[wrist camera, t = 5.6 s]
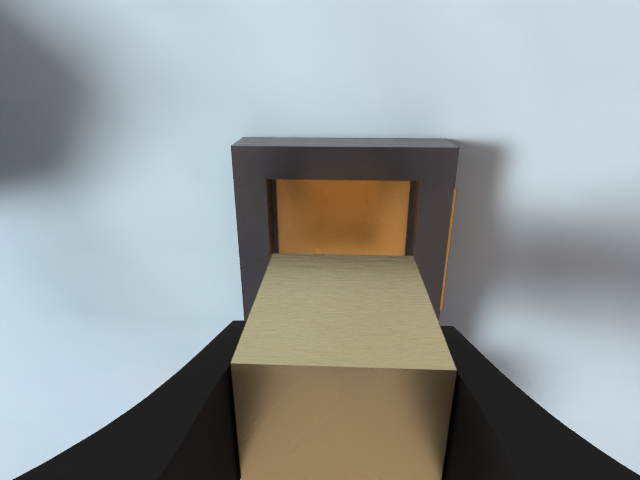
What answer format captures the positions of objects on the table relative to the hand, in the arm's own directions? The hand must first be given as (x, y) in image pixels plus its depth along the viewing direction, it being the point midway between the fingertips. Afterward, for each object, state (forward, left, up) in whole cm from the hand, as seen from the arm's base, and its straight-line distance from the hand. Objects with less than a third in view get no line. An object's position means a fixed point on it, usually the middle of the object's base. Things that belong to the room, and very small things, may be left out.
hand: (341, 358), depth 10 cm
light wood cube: (0, 0, -3) cm, 3 cm away
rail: (-7, 0, -9) cm, 11 cm away
